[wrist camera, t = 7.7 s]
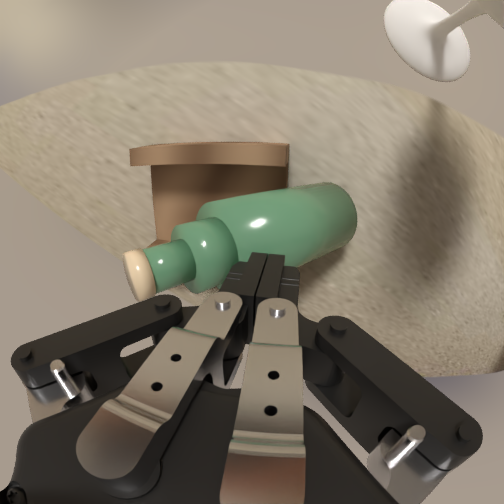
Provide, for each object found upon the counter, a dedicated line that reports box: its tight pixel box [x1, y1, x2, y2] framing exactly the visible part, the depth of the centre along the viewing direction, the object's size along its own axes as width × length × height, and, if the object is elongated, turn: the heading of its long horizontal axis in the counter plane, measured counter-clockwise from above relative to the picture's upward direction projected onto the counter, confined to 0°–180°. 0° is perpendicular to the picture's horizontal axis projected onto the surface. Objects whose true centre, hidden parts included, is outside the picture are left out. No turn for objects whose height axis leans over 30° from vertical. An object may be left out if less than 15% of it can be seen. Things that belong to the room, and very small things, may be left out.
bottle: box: [123, 182, 357, 302], centre depth 16 cm, size 5×5×15 cm
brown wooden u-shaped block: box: [130, 142, 289, 248], centre depth 22 cm, size 12×10×4 cm
